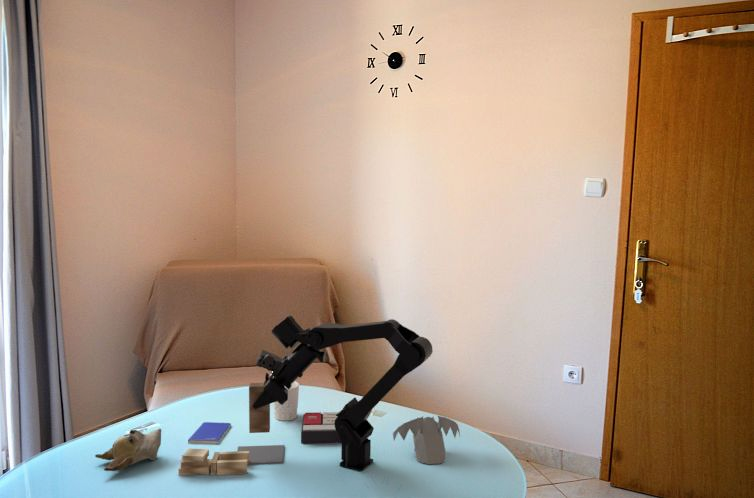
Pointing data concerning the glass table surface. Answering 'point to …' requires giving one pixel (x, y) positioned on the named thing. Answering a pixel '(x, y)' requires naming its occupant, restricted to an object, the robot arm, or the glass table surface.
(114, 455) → the ceramic sculpture
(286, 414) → the white cup
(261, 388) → the walnut block
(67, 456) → the glass table surface
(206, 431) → the hard drive
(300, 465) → the glass table surface
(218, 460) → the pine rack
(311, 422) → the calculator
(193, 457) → the offcut stack
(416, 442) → the figurine
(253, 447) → the charcoal mat
